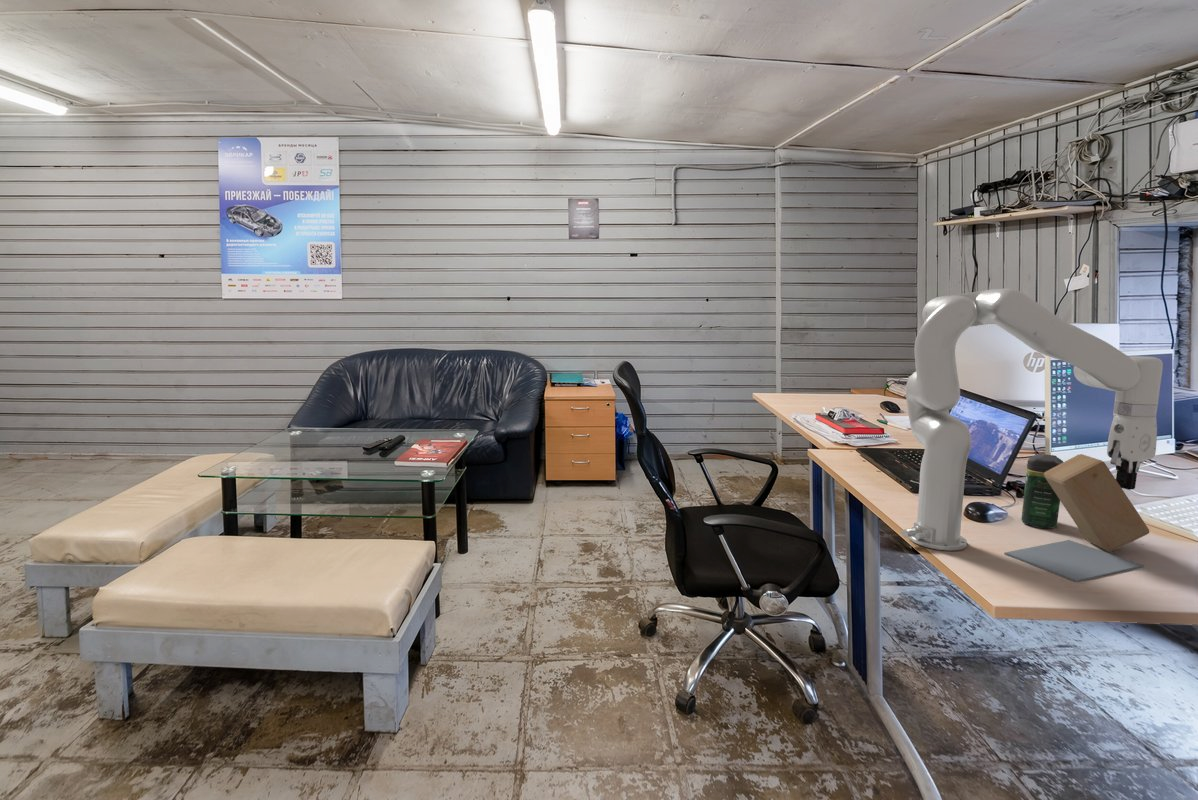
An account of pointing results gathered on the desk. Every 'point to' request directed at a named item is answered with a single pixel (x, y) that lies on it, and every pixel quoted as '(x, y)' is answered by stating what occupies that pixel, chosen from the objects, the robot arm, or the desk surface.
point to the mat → (1073, 560)
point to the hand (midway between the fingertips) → (1124, 487)
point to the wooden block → (1096, 502)
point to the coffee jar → (1040, 493)
